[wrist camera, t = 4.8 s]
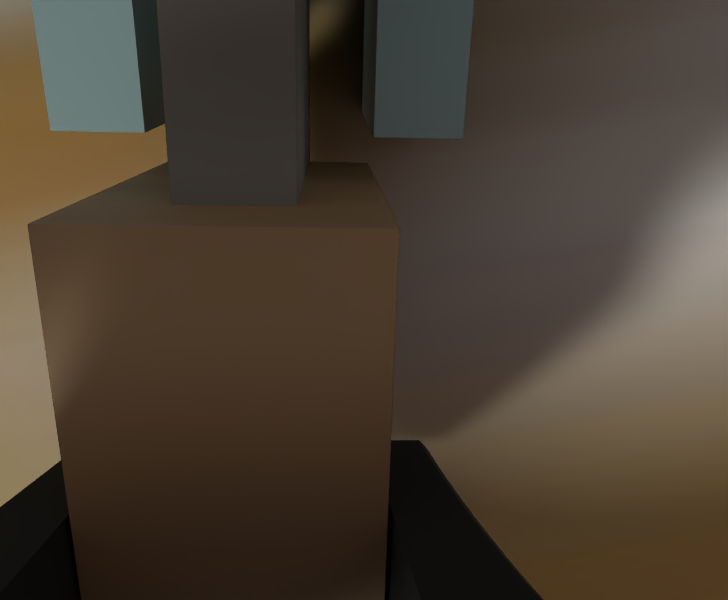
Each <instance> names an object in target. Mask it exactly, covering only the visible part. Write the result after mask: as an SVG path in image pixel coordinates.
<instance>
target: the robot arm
mask: <svg viewBox="0 0 728 600" xmlns="http://www.w3.org/2000/svg"><path fill="white" fill-rule="evenodd" d="M0 600H81V594H80V587H79V580H78V573H77V566H76V559H75V552H74V545H73V538H72V531H71V524H70V517H69V510H68V503H67V496H66V489H65V482H64V475H63V469H62V462H61V461H60V462H58V463H57V464H56V465H54V466H53V467H52V468H50V469H49V470H48V471H47V472H45V473H44V474H43V475H41V476H40V477H39V478H37V479H36V480H35V481H34V482H32V483H31V484H30V485H28V486H27V487H26V488H25V489H23V490H22V491H21V492H19V493H18V494H17V495H16V496H14V497H13V498H12V499H10V500H9V501H8V502H6V503H5V504H4V505H2V506H1V507H0ZM384 600H543V599H542V598H541V596H540V595H539V594H538V593H537V592H536V591H535V590H534V589H533V588H532V586H531V585H530V584H529V583H528V582H527V581H526V580H525V578H524V577H523V576H522V575H521V574H520V572H519V571H518V570H517V569H516V568H515V567H514V565H513V564H512V563H511V562H510V561H509V559H508V558H507V557H506V556H505V554H504V553H503V552H502V551H501V550H500V548H499V547H498V546H497V545H496V543H495V542H494V541H493V540H492V538H491V537H490V536H489V535H488V533H487V532H486V531H485V530H484V528H483V527H482V526H481V525H480V523H479V522H478V521H477V519H476V518H475V517H474V515H473V514H472V513H471V512H470V510H469V509H468V508H467V506H466V505H465V503H464V502H463V501H462V499H461V498H460V497H459V495H458V494H457V492H456V491H455V490H454V488H453V487H452V485H451V484H450V483H449V481H448V480H447V478H446V477H445V475H444V474H443V472H442V471H441V470H440V468H439V467H438V465H437V463H436V462H435V460H434V459H433V457H432V456H431V454H430V453H429V451H428V449H427V448H426V447H425V446H424V445H423V444H422V443H421V442H420V441H419V440H391V452H390V477H389V501H388V525H387V549H386V574H385V598H384Z"/></svg>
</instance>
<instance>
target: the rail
mask: <svg viewBox="0 0 728 600" xmlns="http://www.w3.org/2000/svg"><path fill="white" fill-rule="evenodd" d="M156 2H157V16H158V30H159V44H160V58H161V72H162V86H163V100H164V114H165V128H166V142H167V156H168V162H166V163H164V164H162V165H159V166H157V167H155V168H153V169H150V170H148V171H146V172H144V173H141V174H139V175H137V176H135V177H132V178H130V179H128V180H126V181H123V182H121V183H119V184H117V185H114V186H112V187H110V188H108V189H105V190H103V191H101V192H99V193H96V194H94V195H92V196H90V197H87V198H85V199H83V200H81V201H78V202H76V203H74V204H72V205H69V206H67V207H65V208H63V209H60V210H58V211H56V212H54V213H51V214H49V215H47V216H45V217H42V218H40V219H38V220H36V221H33V222H31V223H29V224H28V231H29V238H30V245H31V252H32V259H33V266H34V273H35V280H36V287H37V294H38V301H39V308H40V315H41V322H42V329H43V336H44V343H45V350H46V357H47V364H48V371H49V378H50V385H51V392H52V399H53V406H54V413H55V420H56V427H57V434H58V441H59V448H60V455H61V462H62V469H63V475H64V482H65V489H66V496H67V503H68V510H69V517H70V524H71V531H72V538H73V545H74V552H75V559H76V566H77V573H78V580H79V587H80V594H81V600H384V598H385V574H386V549H387V525H388V501H389V477H390V452H391V428H392V404H393V380H394V355H395V331H396V307H397V283H398V258H399V234H400V228H399V226H398V224H397V222H396V220H395V218H394V216H393V214H392V212H391V210H390V208H389V206H388V204H387V202H386V200H385V198H384V196H383V194H382V192H381V190H380V188H379V186H378V183H377V181H376V179H375V177H374V175H373V173H372V171H371V169H370V167H369V165H368V163H350V162H310V42H309V0H156Z"/></svg>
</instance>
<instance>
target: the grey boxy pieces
mask: <svg viewBox="0 0 728 600" xmlns="http://www.w3.org/2000/svg"><path fill="white" fill-rule="evenodd" d="M31 4H32V10H33V17H34V24H35V30H36V37H37V44H38V50H39V57H40V64H41V70H42V77H43V84H44V90H45V97H46V104H47V110H48V117H49V124H50V131H90V132H139V133H145V132H147V131H149V130H152V129H154V128H156V127H158V126H160V125H163V124H165V114H164V100H163V86H162V72H161V58H160V44H159V30H158V16H157V2H156V0H31ZM473 9H474V0H365V5H364V48H363V90H362V114H363V116H364V118H365V120H366V122H367V124H368V126H369V128H370V130H371V132H372V135H373V137H387V138H437V139H463V133H464V121H465V108H466V96H467V83H468V71H469V59H470V46H471V34H472V21H473Z"/></svg>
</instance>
